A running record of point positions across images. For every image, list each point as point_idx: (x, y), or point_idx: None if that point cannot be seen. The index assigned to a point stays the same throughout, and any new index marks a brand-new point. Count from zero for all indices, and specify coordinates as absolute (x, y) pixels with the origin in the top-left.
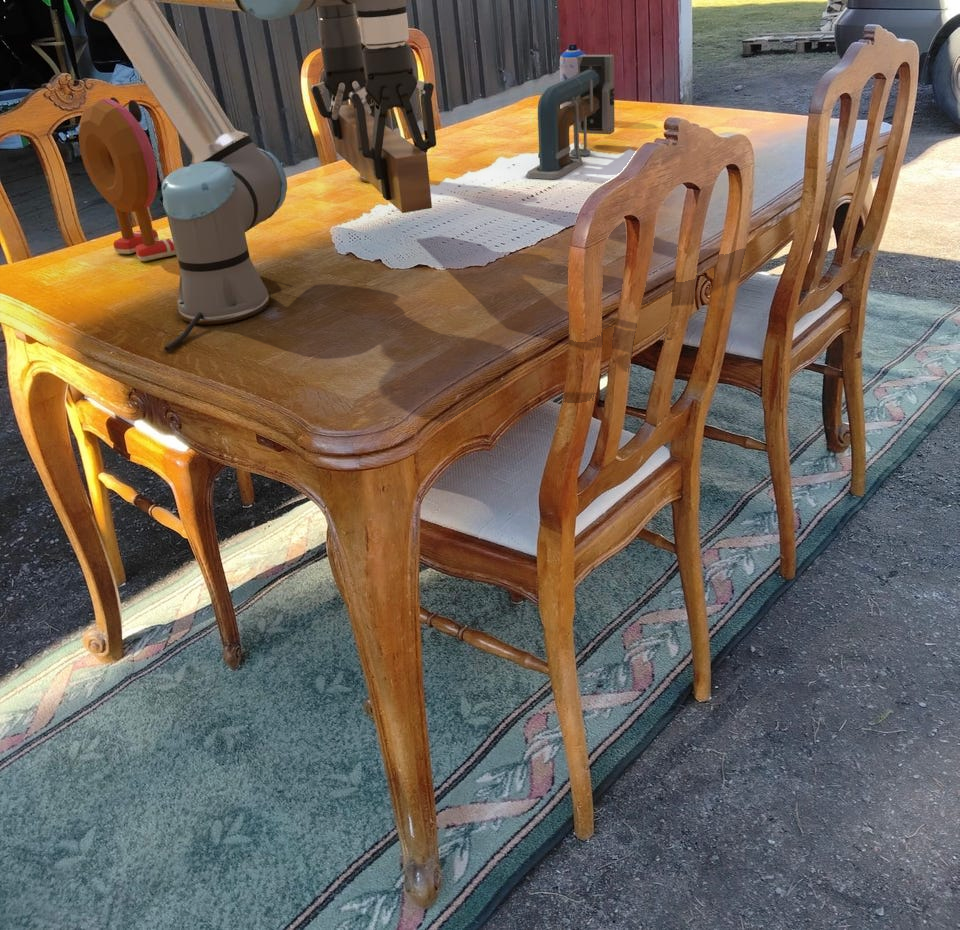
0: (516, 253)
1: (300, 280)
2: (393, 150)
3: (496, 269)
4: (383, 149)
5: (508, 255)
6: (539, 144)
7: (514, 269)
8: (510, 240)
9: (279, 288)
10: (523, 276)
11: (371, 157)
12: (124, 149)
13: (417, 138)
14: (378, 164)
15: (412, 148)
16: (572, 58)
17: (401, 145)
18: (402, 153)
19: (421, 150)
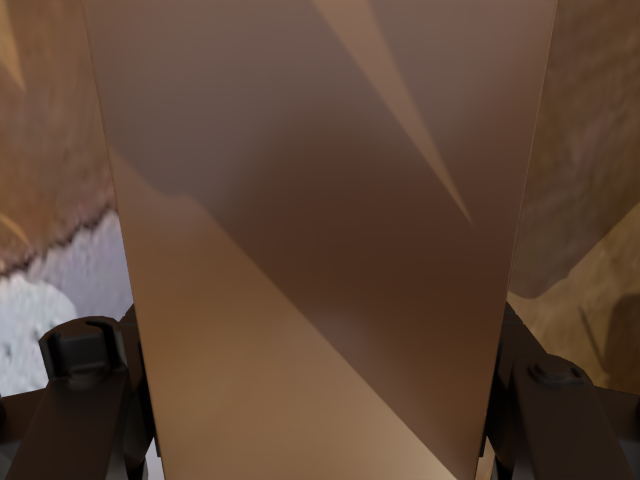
0: (11, 258)
1: (551, 343)
2: (421, 334)
3: (83, 170)
4: (478, 451)
5: (34, 255)
6: None
7: (34, 144)
8: (14, 351)
9: (613, 318)
10: (17, 75)
11: (596, 390)
12: None
13: (77, 466)
14: (509, 347)
15: (199, 292)
16: None
17: (278, 476)
18: (383, 108)
19: (106, 110)
